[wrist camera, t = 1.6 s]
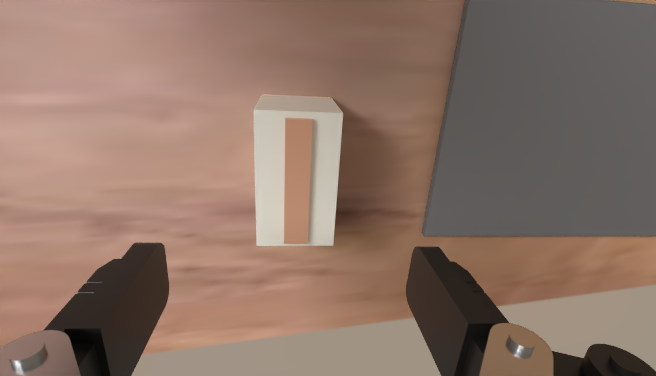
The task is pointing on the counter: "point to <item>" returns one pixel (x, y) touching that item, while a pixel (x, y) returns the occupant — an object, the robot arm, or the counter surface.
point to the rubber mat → (549, 122)
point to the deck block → (296, 169)
